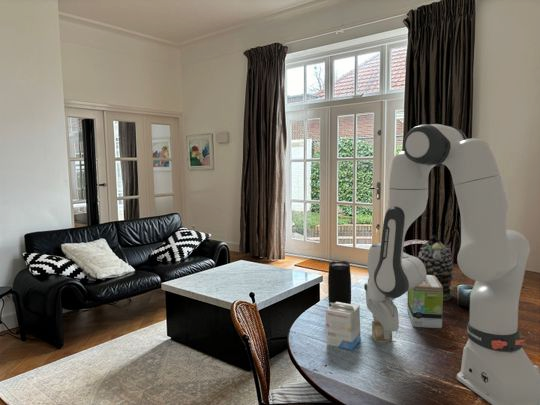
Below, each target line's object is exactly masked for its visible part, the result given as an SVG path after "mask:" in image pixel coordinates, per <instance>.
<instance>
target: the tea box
mask: <svg viewBox="0 0 540 405" xmlns="http://www.w3.org/2000/svg"><path fill="white" fill-rule="evenodd" d="M443 301H444V300H443V287H442V285H441V284H440V282H439V281H438V279H437V278H436V277H435V275H426V279H425V280H424V282H423V283H421V284H420V285H418V286H416V287H414V288H413V289H411V290H409V291H407V307H406V308H407V309H406V310H407V313H408V316H409V319H410V322H411V324H412V327H414V328H428V329H429V328H430V329H442V328H443V305H444V304H443V303H444V302H443Z"/></svg>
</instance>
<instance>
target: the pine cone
mask: <svg viewBox="0 0 540 405" xmlns="http://www.w3.org/2000/svg"><path fill="white" fill-rule="evenodd" d="M417 258H419V259H420V260H421V261H422V262H423V263H424V265H425V267H426V272H427V275H435V277H436V278H437V279H438V281H439V282H440V284H441V285H442V287H443V301H449V300H450V299H451V298H452V295H453V294H452V291H453V290H454V286H453V285H452V280H453V279H454V278H453V271H454V266H453V263H452V260H453V254H452V251H451V248H449V247H446V244H443V243H442V241H441V240H440V239H438V238H437V235H436V234H432V237H431V238H429V239H428V241H426V243H423V245H422V246H421V247H420V248H419V252H418V255H417Z"/></svg>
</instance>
